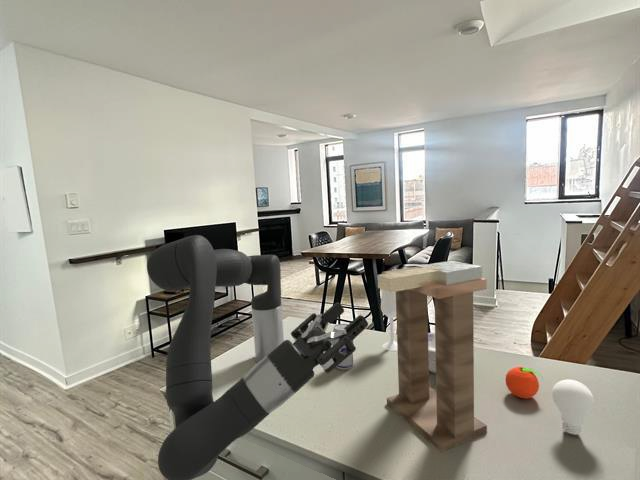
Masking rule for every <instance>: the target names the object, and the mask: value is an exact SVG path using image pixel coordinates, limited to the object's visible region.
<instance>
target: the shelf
mask: <svg viewBox="0 0 640 480" xmlns="http://www.w3.org/2000/svg"><path fill="white" fill-rule="evenodd" d="M418 266H419V265H417V266H412V267H405V268H399V269H393V270H392V269H391V270H387V271H382V272H381V274H386V273H393V272H399V271H405V270H412V269H418ZM483 290H487V278H483V277H482V279H479V280H474V281H469V282H463V283H458V284H453V285H448V286H446V285H442V284H434V285H429V286H423V287H418V288H412V289H407V290H402V291H396V317H395V319H396V342H397V350H398V351H397V371H398V372H397V375H398V378H397V379H398V394H395V395H391V396H388V397H386V404H387V405H388V407H390V408H391V409H392V410H393V411H394V412H396V413H397V414H398V415H399V416H400V417H401V418H402V419H403V420H405V421H406V422H407V423H408V424H409V425H410V426H411V427H413V429H415V430H416V431H417V432H418V433H420V435H422V437H424V438H425V439H426V440H427V441H428V442H429V443H431V444H432V445H433V446H434V447H435V448H436V449H437V450H439V452H444V451H446V449H447V450H448V449H451V448H453V447H455V446H457V445H460V444H463V443H465V442H467V441H470V440H472V439H474V438H476V437H479V436H482V435H483V434H484V435H485V434H486V433H487V432H488V425H487V424H485V423H484V422H483V421H481V420H479V419H478V418H477V417H475V380H474V379H475V373H474V372H475V371H474V367H475V365H474V364H475V363H474V361H475V357H474V351H475V349H474V293H475V292H479V291H483ZM428 296H429V297H431V298H434V301H433V302H434V332H435V352H436V373H435V389H436V390H435V389H434V388H432V387H431V386H430V370H429V353H428V333H429V323H428V322H429V319H428V317H429V315H428V314H429V313H428V312H429V311H428Z"/></svg>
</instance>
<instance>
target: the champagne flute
mask: <svg viewBox="0 0 640 480" xmlns="http://www.w3.org/2000/svg"><path fill="white" fill-rule="evenodd" d="M380 310H381V312H382V313H383V314H384V315H385V316H386V317H387V318H389V330H390V331H389V334H390V338H389V339H390V340H389V341H387V342H385V343H383V344H382V346H381V347H382V349H384V350H385V351H392V352H395V351H396V352H398V350H397V341H395V328H394V327H395V326H394V325H395V323H394V319H396V292H391V293H390V292H388V291H385V290H382V289H381V296H380Z"/></svg>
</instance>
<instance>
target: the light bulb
mask: <svg viewBox="0 0 640 480" xmlns="http://www.w3.org/2000/svg"><path fill="white" fill-rule="evenodd" d="M551 394H552V395H551V396H552V399H553V402H554V404H555V405H556V407H557V409H558V410H559V412H560V415H561V416H560V417H561V420H562V430H563V431H564V432H566V433H567V434H569V435H572V436H577V435H580V434H581V433H582V425H583V422H584V419H585V417H586V416H587V415H588V414H590V413H591V411H592V410H593V408H594V404H595V402H594V397H593V394H592V392H591V391H590V389H589V387H587V386H586V385H585V384H583V383H582V382H580V381H577V380H574V379H570V378H569V379H562V380H560V381H558V382H557V383H555V384H554V386H553V388H552V392H551Z"/></svg>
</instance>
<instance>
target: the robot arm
mask: <svg viewBox="0 0 640 480" xmlns="http://www.w3.org/2000/svg"><path fill="white" fill-rule="evenodd" d="M281 269H282V268H281V262H280V259H279V257H278V256H277V255H275V254H258V255H257V254H256V255H255V254H253V255H247V254H246V253H244V252H243V251H239V250H235V249H230V248H219V249H214V248H213V246H212V244H211V242H210V241H209V240H208V239H207V238H206V237H204V236H203V235H199V234H194V235H190V236H186V237H183V238H180V239H177V240H174V241H172V242H171V241H170V242H169V243H166V244H163V245H161V246H159V247H157V248H156V249H154V250H153V251H152V253H150V255H149V257H148V259H147V263H146V271H147V272H146V273H147V275H148V276H149V278H150V280H151V281H152V283H154V285H156V286H157V287H158V288H160V289H162V290H163V291H167V292H177V291H182V290H185V289H189V294H188V300H187V303H186V306H185V310H184V312H183V314H182V317H181V319H180V321H179V323H178V326H177V327H176V330H175V332H174V334H173V337H172V339H171V341H170V343H169V347H168V350H167V353H166V354H167V355H166V360H165V361H166V362H165V398H166V399H165V400H166V404H167V407H168V408H169V409H170V410H171V411H172V413H173V416H174V418H173V419H174V427H175V428H174V429H173V430H171V432H170V433H169V434H168V435H167V436H166V438H165V439H164V441H163V442H162V444H161V446H160V449H159V451H158V456H157V465H158V470H159V472H160V474H161V475H162V477H164V478H165V479H166V480H194V479H196V478H198V477H201V476H204V475H206V474H207V473H208V472H210V471H211V470H212V468H213V467H214V466H215V464H216V463H217V461H218V459H219V458H218V457H219V455H221V453H222V452H224V451H225V450H226V449H227V448H229V446H231V444H232V443H233V442H235V441H237V440H238V439H239V438H241V437H243V436H245V435H247V434H248V433H250V432H251V431H252V430H253V429H254V428H256V427H257V426H258V425H259V424H260V423H261V422H262V421H264V419H266V418H267V417H268V416H269V415H270V414H272V412H275V410H277V409H279V408H280V407H281V406H283V405H284V404H285V403H287V402H288V400H289V399H291V397H293V396H294V395H295V394H296V393H297V392H298V391H300V390H301V389H302V388H303V387H304V386H305V385H306V384H307V383H309V382H310V381H311V380H312V379H313V378H314V377H315V371H314V368H315V367H318V365H320V366H321V368H322V369H323V371H324V372H325V374H328V373H330V372H331V371H333V370H334V369H335V368H337V367H336V366H338V365H339V364H340V363H341V362H342V361H344V360H345V359H346V358H347V357H348V356H349V355H351V354H352V353H354V352H356V350H357V348H356V346H355V344H354V339H356V338H357V337H358V336H359V335H360V334H361V333H362V332H363V331H364V330H366V329H367V327H369V322H368V321H367V319H366V318H365V316H364V315H362V314H359V315H357V317H355V318H354V319H353V320H351V321H350V323H348V325H347V326H346V327H345V328H344V329H345V330H341V331H339V332H336V333H333V332H332V331H329V332H326V331H327V329H328V326H329V324H332V323H333V322H334V321H335V320H336V319H338V318H339V317H340V316H341V315H343V314H344V313H345V309H344V307H343V306H342V304H341V303H340V302H335V303H334V304H332V305H331V307H329V308H328V309H327V310H326V311H324V312H323V313H319V314H316V313H315V312H314V313H312V314H311V315H310V316H308V317H307V318H306V319H305V320H304V321H302V322H301V323H299V325H298V326H297V327H296V328H295V329H293V330H292V331H291V332H290V335H291V336H292V338H293V339H294V342H292V341H291V340H290V339H285V338H284V324H283V323H284V322H283V310H282V309H283V308H282V286H281V285H282V283H281V282H282V281H281V280H282V278H281V274H282V273H281ZM243 284H246V285H251V286H267V288H266V289H267V290H266V291H265V292H263V293H260V294H257V295H255V296H253V297H252V298H251V300H250V303H251V304H250V305H251V316H252V317H251V318H252V328H253V329H252V330H253V344H254V353H255V355H254V356H255V362H256V364H255V365H254V366H253V367H252V368H250V370H249V371H247V373H246V374H245V375H244V376H243V377H242V378H241V379H239V380H238V381H237V382H236V383H234V384H233V385H232V386H230V387H229V389H227V390H226V391H225V392H224V393H223V394H222V395H221V396H220V397H218V398H217V399H216V400H215V401H214V396H213V372H212V356H211V340H212V339H211V335H212V325H213V324H212V323H213V316H214V315H213V314H214V307H215V306H214V305H215V295H216V287H217V288H219V287H224V288H225V287H226V288H227V287H230V288H231V287H239V286H241V285H243ZM339 338H342V339H341V340H339V341H338V340H337V339H339ZM345 347H346V348H347V349H346V350H344V351H343V352H342V353H340V351H341V349H342V348H345Z"/></svg>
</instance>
